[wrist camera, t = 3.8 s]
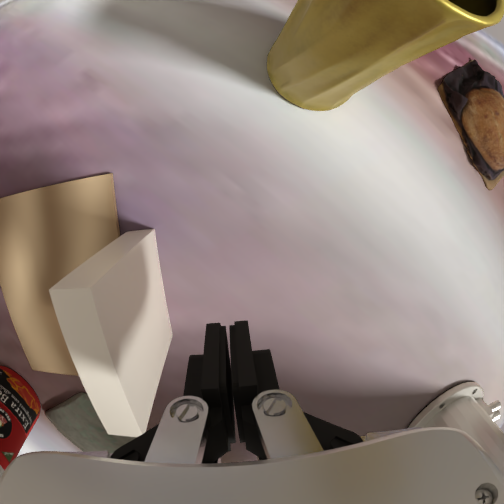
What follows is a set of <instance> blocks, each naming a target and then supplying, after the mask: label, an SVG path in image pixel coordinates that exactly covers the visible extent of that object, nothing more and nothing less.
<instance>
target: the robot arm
mask: <svg viewBox="0 0 504 504" xmlns="http://www.w3.org/2000/svg"><path fill="white" fill-rule="evenodd" d="M230 353H231V366H230V358H229V350H228V342H227V334H226V326H221V325H220V323H210V324H207V325H206V335H205V345H204V355H190V357H189V362H188V369H187V375H186V382H185V389H184V396H182V397H178V398H176V399H174V400H172V401H171V402H170V403H169V404H168V405H167V407H166V409H165V411H164V414H163V416H162V419H161V421H160V423H159V424H158V425H157V426H155V427H153V428H152V429H150V430H148V431H147V432H145V433H143V434H142V435H140V436H138V437H137V438H135V439H133V440H132V441H130V442H128V443H126V444H125V445H123V446H121V447H119V448H118V449H117V450H115V451H114V452H113V453H109V452H108V451H91V452H57V451H41V452H31V453H26V454H23V455H20V456H18V457H16V458H15V459H14V460H13V461H12V462H11V463H10V464H9V465H8V466H7V468H6V469H5V471H4V473H3V474H2V476H1V477H0V504H504V433H503V432H502V430H501V429H500V428H499V427H498V425H497V424H496V423H495V421H497V420H498V419H499V418H500V412H499V410H498V409H499V408H500V406H501V404H500V402H499V401H498V400H497V401H495V402H493V403H491V404H490V405H489V406H488V405H487V404H486V403H485V402H484V401H483V397H484V391H483V389H482V388H481V387H480V386H479V384H478V383H475V382H466V383H462V384H460V385H457V386H455V387H453V388H451V389H450V390H448V391H446V392H445V393H443V394H442V395H440V396H439V397H438V398H436V399H435V400H434V401H433V402H431V403H430V404H429V405H428V406H427V407H426V408H425V409H423V410H422V412H421V413H420V414H419V415H418V416H417V417H416V418H415V419H414V420H413V421H412V423H411V424H410V425H409V427H408V428H407V429H400V430H392V431H383V432H373V433H366V436H359V435H357V434H355V433H354V432H351V431H349V430H346V429H343V428H341V427H338V426H336V425H333V424H331V423H328V422H326V421H323V420H321V419H319V418H316V417H314V416H311V415H309V414H307V413H305V412H303V411H302V410H301V408H300V406H299V404H298V402H297V400H296V399H295V397H294V396H293V395H292V394H290V393H289V392H286V391H283V390H279V386H278V382H277V377H276V373H275V369H274V365H273V360H272V356H271V352H270V349H267V350H257V351H252V348H251V341H250V334H249V327H248V321H236V322H235V325H230ZM233 398H234V403H233ZM234 405H235V412H236V419H237V425H238V432H239V438H240V443H241V442H246V449H247V450H248V451H250V452H252V453H253V454H255V455H257V460H258V461H248V462H234V463H221V456H223V455H224V454H225V453H226V452H228V451H231V447H230V443H236V438H235V421H234Z"/></svg>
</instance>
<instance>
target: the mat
mask: <svg viewBox="0 0 504 504" xmlns="http://www.w3.org/2000/svg"><path fill="white" fill-rule="evenodd" d="M118 237H120V230H119V223H118V216H117V208H116V200H115V191H114V182H113V173H111V174H105V175H100V176H94V177H89V178H84V179H79V180H74V181H69V182H64V183H60V184H55V185H51V186H46V187H42V188H38V189H34V190H30V191H26V192H22V193H18V194H14V195H10V196H7V197H3V198H0V285H1V288H2V292H3V295H4V298H5V302H6V305H7V308H8V311H9V314H10V316H11V319H12V322H13V325H14V327H15V330H16V333H17V335H18V338H19V340H20V343H21V345H22V348H23V350H24V352H25V355H26V357H27V359H28V361H29V364H30V366H31V368H32V370H35V371H42V372H49V373H58V374H66V375H76V376H79V374H78V372H77V370H76V367H75V365H74V363H73V360H72V358H71V355H70V352H69V350H68V347H67V345H66V342H65V339H64V336H63V334H62V331H61V328H60V325H59V322H58V319H57V316H56V313H55V309H54V306H53V303H52V299H51V296H50V292H49V289H50V288H51V287H53V286H54V285H55V284H56V283H58V282H59V281H60V280H62V279H63V278H64V277H65V276H67V275H68V274H69V273H71V272H72V271H73V270H74V269H76V268H77V267H78V266H80V265H81V264H82V263H84V262H85V261H86V260H88V259H89V258H90V257H92V256H93V255H95V254H96V253H97V252H99V251H100V250H101V249H103V248H104V247H106V246H107V245H108V244H110V243H111V242H113V241H114V240H115V239H117V238H118Z"/></svg>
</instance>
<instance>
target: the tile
mask: <svg viewBox="0 0 504 504" xmlns="http://www.w3.org/2000/svg"><path fill="white" fill-rule="evenodd" d="M49 292H50V296H51V299H52V303H53V306H54V309H55V313H56V316H57V319H58V322H59V325H60V328H61V331H62V334H63V336H64V339H65V342H66V345H67V347H68V350H69V352H70V355H71V358H72V360H73V363H74V365H75V367H76V370H77V372H78V374H79V377H80V379H81V381H82V384H83V386H84V388H85V390H86V392H87V394H88V396H89V399H90V401H91V403H92V405H93V407H94V409H95V411H96V413H97V415H98V416H99V418H100V420H101V422H102V424H103V426H104V428H105V430H106V431H107V433H108V434H110V435H119V436H129V437H138V436H140V435H142V434H143V433H145V432H146V429H147V425H148V421H149V417H150V413H151V409H152V406H153V402H154V398H155V395H156V391H157V387H158V384H159V380H160V377H161V373H162V370H163V366H164V363H165V359H166V356H167V352H168V349H169V346H170V342H171V339H172V336H173V334H172V329H171V324H170V319H169V314H168V309H167V304H166V299H165V293H164V288H163V282H162V276H161V270H160V263H159V257H158V250H157V243H156V236H155V229H148V230H138V231H128V232H126V233H124V234H123V235H121V236H120V237H118V238H117V239H115V240H114V241H113V242H111V243H110V244H108V245H107V246H106V247H104V248H103V249H101V250H100V251H99V252H97V253H96V254H95V255H93V256H92V257H90V258H89V259H88V260H86V261H85V262H84V263H82V264H81V265H80V266H78V267H77V268H76V269H74V270H73V271H72V272H71V273H69V274H68V275H67V276H65V277H64V278H63V279H62V280H60V281H59V282H58V283H56V284H55V285H54V286H53V287H51V288H50V289H49Z"/></svg>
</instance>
